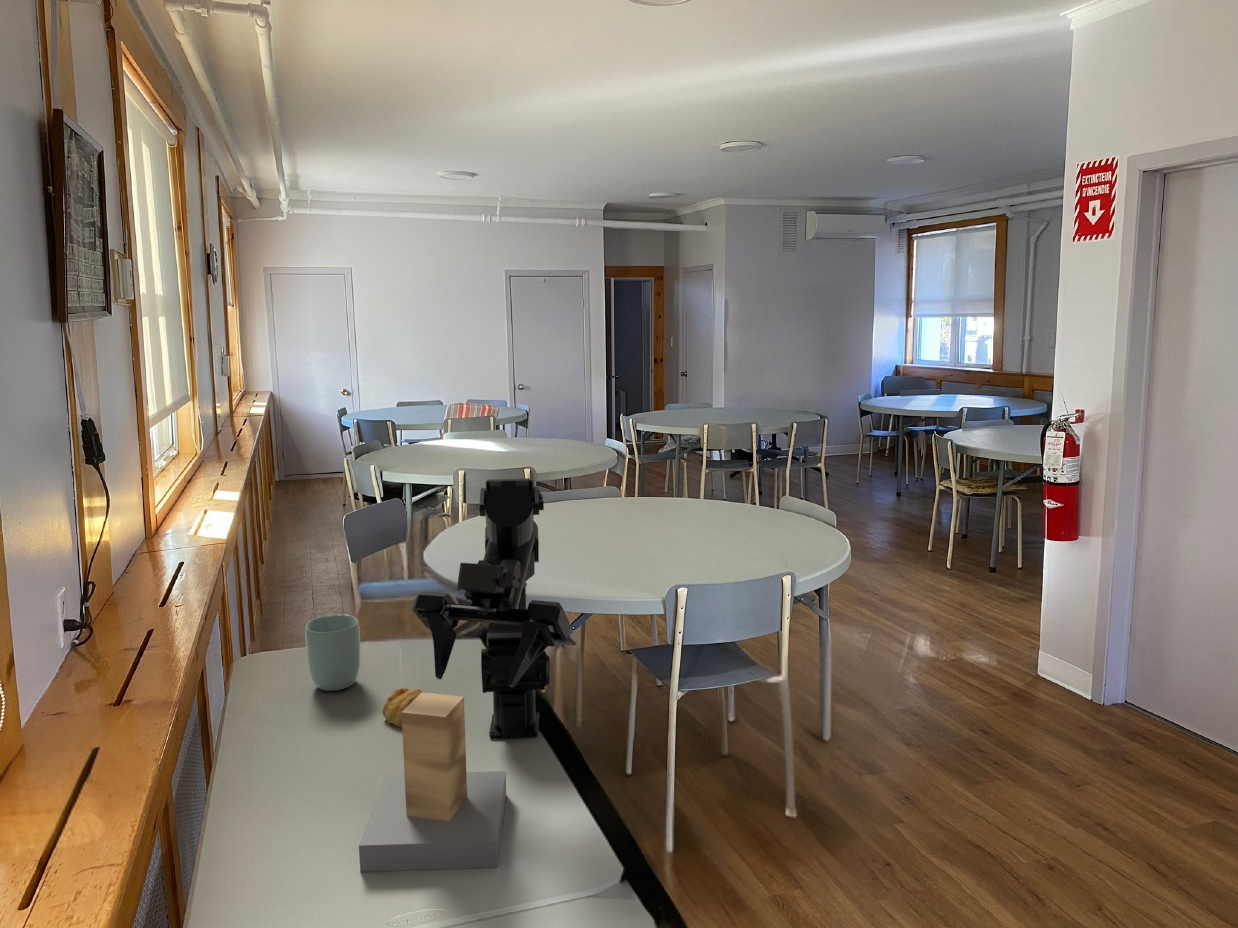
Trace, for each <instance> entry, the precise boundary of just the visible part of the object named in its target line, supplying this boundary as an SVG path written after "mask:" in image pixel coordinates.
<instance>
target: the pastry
mask: <svg viewBox="0 0 1238 928" xmlns="http://www.w3.org/2000/svg"><path fill="white" fill-rule="evenodd" d="M422 692H423V693H429V692H428V691H422V690H421V689H419V688H418V689H417V688H416V689H413V690H410V689H409V688H408V687H400V688H398V689H395V690H394V691H392V693H391V694H390V695H388V697H387V698H386V699H385V701H384V705H383V708H382V709H381V712H382V713H381V714H382V715H383V717H384V718H385V719H386V720H387V722H388V723H389V724H393V725H395V727H398V728H402V711H403V710H404V709H405V708H406V707H407V706H408V705H409V704H410V703H411V702H412V701H413V700H414V699H416V698H417V697H418V696H419V695H420V694H421V693H422Z"/></svg>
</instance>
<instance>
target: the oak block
mask: <svg viewBox="0 0 1238 928" xmlns="http://www.w3.org/2000/svg"><path fill="white" fill-rule="evenodd" d="M401 728H402V731H401V732H402V753H403V769H404V770H403V772H404V773H403V774H404V775H405V796H406V815H407V816H415V817H422V818H430V819H437V820H445V821H450V820H451V818H452V817H453V816H454V814H455V813H456V811H457V810H458V809H459V807H460V806H461V804H462V803H463V802H464V800H465V799H466V797H467V773H466V772H467V752H466V751H467V750H466V748H467V747H466V721H465V696H461V695H452V694H443V693H442V694H441V693H432V692H428V693H424V691H422V693H421V694H420V695H419V696H418V697H417V698H416V699H414V700H413V701H412V702H411V703H410V704H409V705H408V706H407V707H406V708H405V709H404V710H403V711H402V727H401Z"/></svg>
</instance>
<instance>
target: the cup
mask: <svg viewBox="0 0 1238 928" xmlns="http://www.w3.org/2000/svg"><path fill="white" fill-rule="evenodd" d="M360 631H361V630H360V622H359V620H358V618H357V617H356V616H353V615H350V614H344V613H343V614H330V615H329V614H328V615H323V616H319V617H315V618H313V619H310V620H308V622H307V623H306V624H305V629H304V636H305V649H306V659H307V666H308V671H309V674H310V679H311V681H312V682H313V684H314V686H315V687H317V688H318V689H320V690H322V691H326V692H334V691H342V690H345V689H348V688H349V687H351V686H352V685H353V684H354V683H356V681H357V679H358V678H359V674H360V668H361V636H360V635H361V633H360Z"/></svg>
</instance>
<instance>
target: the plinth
mask: <svg viewBox="0 0 1238 928" xmlns="http://www.w3.org/2000/svg"><path fill="white" fill-rule="evenodd" d="M466 773H467V797H466V799H465V800H464V802H463V803H462V804H461V806H460V807H459V809H458V810H457V811H456V813H455V814H454V816H453V817H452V818H451V820H450V821H445V820H437V819H430V818H422V817H415V816H407V815H406V796H405V775H404V773H394V774H393V773H391V774H385V776H384V779H383V781H382V784H381V787H380V789H379V792H378V794H377V797H376V799H375V803H374V805H373V807H372V809H371V813H370V816H369V818H368V821H367V823H366V826H365V829H364V830H363V833H362V836H361V839H360V841H359V844H358V852H359V854H358V855H359V869H360V870H359V871H360V873H362V872H363V873H364V872H366V873H367V872H370V873H371V872H394V871H397V872H398V871H424V870H425V871H426V870H427V871H429V870H457V869H459V870H461V869H489V868H490V869H491V868H498V861H499V852H500V845H501V839H502V838H501V836H502V831H501V830H503V823H502V821H503V822H504V815H503V814H505V808H504V806H506V800H505V798H506V799H507V777H506V775H507V773H506V770H503V771H502V770H499V771H498V770H497V771H494V770H493V771H466ZM500 838H501V839H500Z"/></svg>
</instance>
